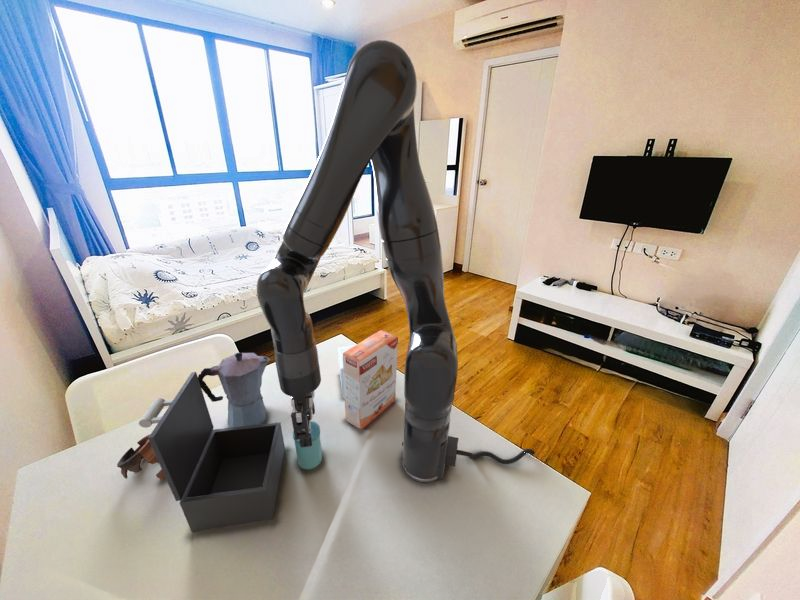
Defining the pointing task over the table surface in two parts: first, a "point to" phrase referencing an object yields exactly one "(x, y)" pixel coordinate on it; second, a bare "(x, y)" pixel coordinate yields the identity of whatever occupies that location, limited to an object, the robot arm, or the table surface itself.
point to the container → (310, 449)
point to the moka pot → (240, 387)
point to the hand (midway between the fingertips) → (308, 428)
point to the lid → (179, 433)
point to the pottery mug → (138, 458)
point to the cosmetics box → (340, 360)
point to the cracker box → (370, 378)
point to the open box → (235, 477)
